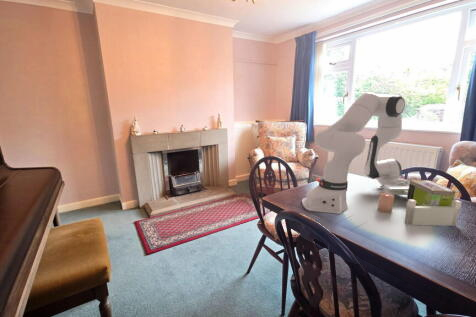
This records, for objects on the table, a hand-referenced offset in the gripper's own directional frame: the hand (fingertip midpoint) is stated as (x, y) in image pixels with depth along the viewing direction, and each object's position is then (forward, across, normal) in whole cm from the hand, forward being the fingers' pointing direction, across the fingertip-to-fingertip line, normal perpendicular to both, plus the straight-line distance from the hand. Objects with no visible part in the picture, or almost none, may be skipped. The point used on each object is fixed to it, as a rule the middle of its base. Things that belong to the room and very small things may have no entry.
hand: (414, 195), depth 115 cm
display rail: (+18, -4, +6) cm, 19 cm away
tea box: (+8, +1, +6) cm, 10 cm away
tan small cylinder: (+4, -16, +6) cm, 18 cm away
